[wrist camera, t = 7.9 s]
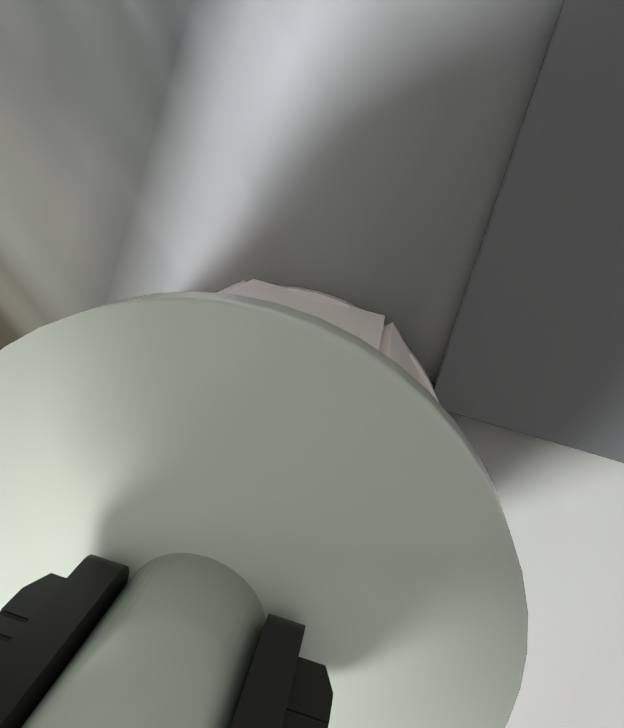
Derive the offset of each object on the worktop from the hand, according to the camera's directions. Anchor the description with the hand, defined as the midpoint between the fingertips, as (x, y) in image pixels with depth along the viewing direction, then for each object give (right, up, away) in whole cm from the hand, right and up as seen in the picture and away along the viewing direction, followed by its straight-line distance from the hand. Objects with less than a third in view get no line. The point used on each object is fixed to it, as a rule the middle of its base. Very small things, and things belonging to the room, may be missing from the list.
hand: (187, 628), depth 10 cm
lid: (0, 0, +1) cm, 1 cm away
